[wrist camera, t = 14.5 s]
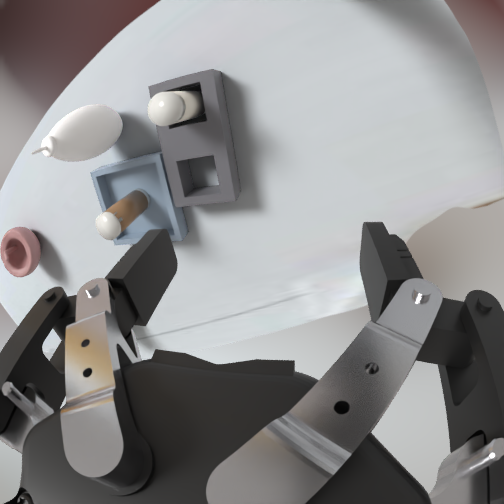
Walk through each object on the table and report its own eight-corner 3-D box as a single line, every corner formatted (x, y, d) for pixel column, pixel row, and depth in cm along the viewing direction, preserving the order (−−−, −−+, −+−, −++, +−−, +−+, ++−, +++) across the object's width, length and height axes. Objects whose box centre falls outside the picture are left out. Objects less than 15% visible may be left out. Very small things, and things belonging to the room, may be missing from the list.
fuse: (179, 94, 34) (144, 97, 26) (205, 88, 33) (176, 87, 25) (184, 119, 36) (151, 129, 28) (210, 114, 35) (183, 121, 27)
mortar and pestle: (53, 240, 53) (22, 267, 43) (45, 267, 58) (20, 293, 49) (24, 209, 50) (-8, 232, 40) (19, 239, 55) (-8, 261, 46)
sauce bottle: (90, 122, 37) (8, 151, 22) (118, 91, 34) (31, 107, 19) (112, 155, 40) (34, 197, 25) (142, 127, 37) (60, 157, 22)
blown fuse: (127, 190, 42) (92, 216, 34) (146, 186, 42) (112, 212, 33) (134, 211, 44) (101, 240, 36) (153, 209, 44) (121, 239, 35)
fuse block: (161, 86, 33) (148, 86, 30) (220, 71, 32) (212, 69, 28) (185, 197, 42) (175, 207, 39) (241, 191, 41) (235, 201, 37)
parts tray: (100, 167, 42) (90, 172, 39) (168, 149, 39) (159, 154, 36) (123, 237, 49) (115, 245, 46) (188, 231, 46) (182, 240, 43)
